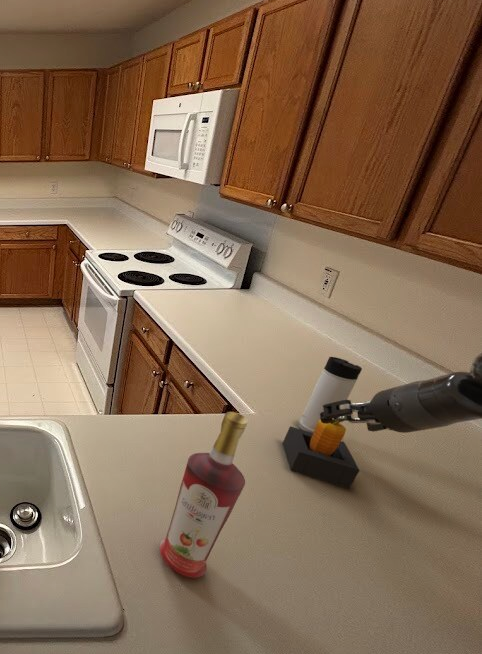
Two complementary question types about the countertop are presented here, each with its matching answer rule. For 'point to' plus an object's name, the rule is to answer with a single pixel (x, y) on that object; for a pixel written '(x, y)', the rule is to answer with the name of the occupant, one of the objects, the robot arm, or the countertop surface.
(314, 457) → the socket pad
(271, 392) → the countertop surface
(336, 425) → the carrot
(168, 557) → the liquor
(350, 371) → the travel mug
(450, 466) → the countertop surface
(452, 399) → the robot arm
